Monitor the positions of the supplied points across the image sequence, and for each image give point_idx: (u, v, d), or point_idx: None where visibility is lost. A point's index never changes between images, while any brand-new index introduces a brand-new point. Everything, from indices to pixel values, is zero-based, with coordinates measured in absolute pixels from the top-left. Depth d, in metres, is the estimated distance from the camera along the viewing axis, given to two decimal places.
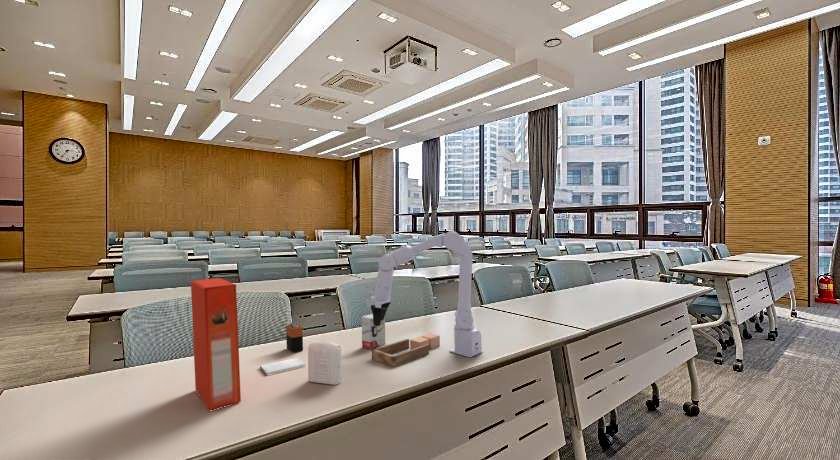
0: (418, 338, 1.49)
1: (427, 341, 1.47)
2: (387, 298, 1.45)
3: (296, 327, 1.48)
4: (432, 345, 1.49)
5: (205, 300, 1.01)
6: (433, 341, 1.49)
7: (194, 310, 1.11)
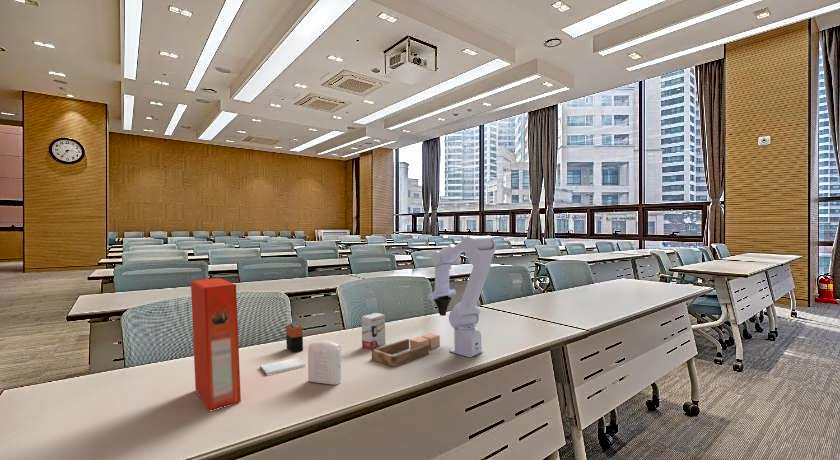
0: (418, 338, 1.49)
1: (427, 341, 1.47)
2: (443, 291, 1.54)
3: (296, 327, 1.48)
4: (433, 345, 1.49)
5: (205, 300, 1.01)
6: (433, 341, 1.49)
7: (194, 310, 1.11)
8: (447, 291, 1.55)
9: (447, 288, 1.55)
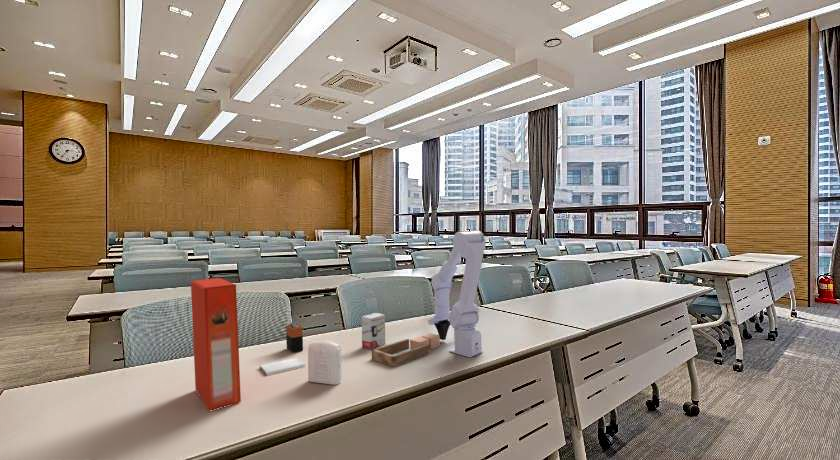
0: (418, 338, 1.49)
1: (427, 341, 1.47)
2: (443, 316, 1.54)
3: (296, 327, 1.48)
4: (433, 345, 1.49)
5: (205, 300, 1.01)
6: (433, 341, 1.49)
7: (194, 310, 1.11)
8: (447, 315, 1.55)
9: (447, 312, 1.55)
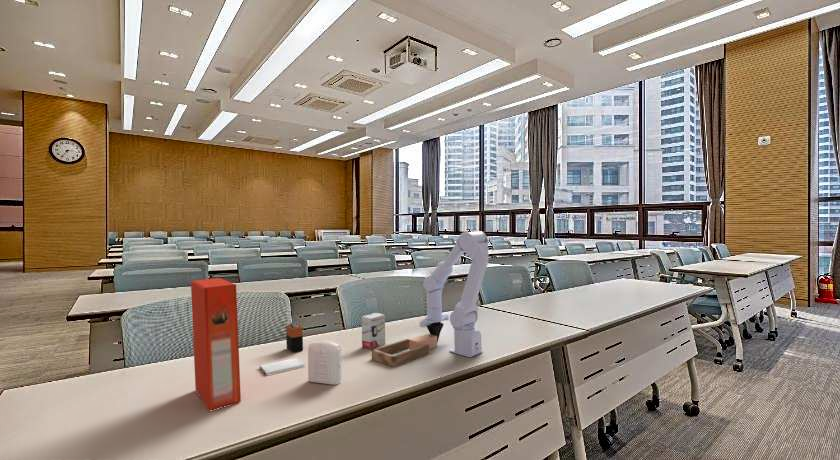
0: (417, 338, 1.49)
1: (426, 341, 1.47)
2: (435, 318, 1.51)
3: (296, 327, 1.48)
4: (430, 345, 1.48)
5: (205, 300, 1.01)
6: (430, 341, 1.48)
7: (194, 310, 1.12)
8: (439, 317, 1.52)
9: (439, 314, 1.52)
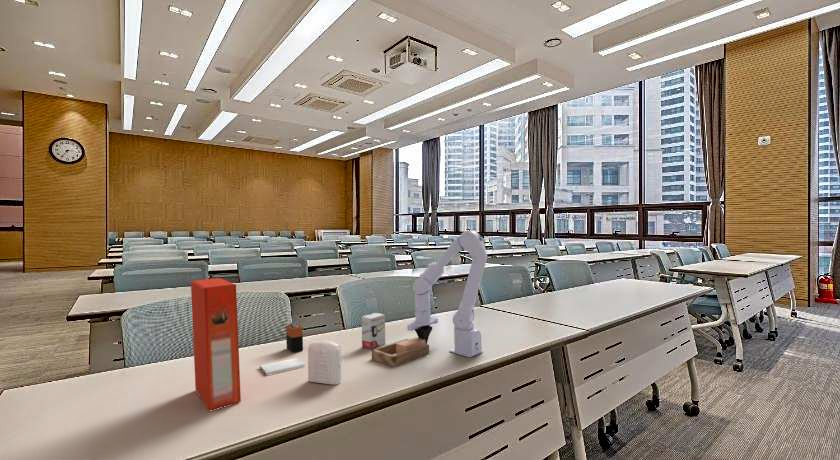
0: (405, 342, 1.44)
1: (414, 345, 1.42)
2: (424, 321, 1.46)
3: (296, 327, 1.48)
4: None
5: (205, 300, 1.01)
6: (418, 345, 1.44)
7: (194, 310, 1.11)
8: (428, 321, 1.47)
9: (428, 317, 1.47)
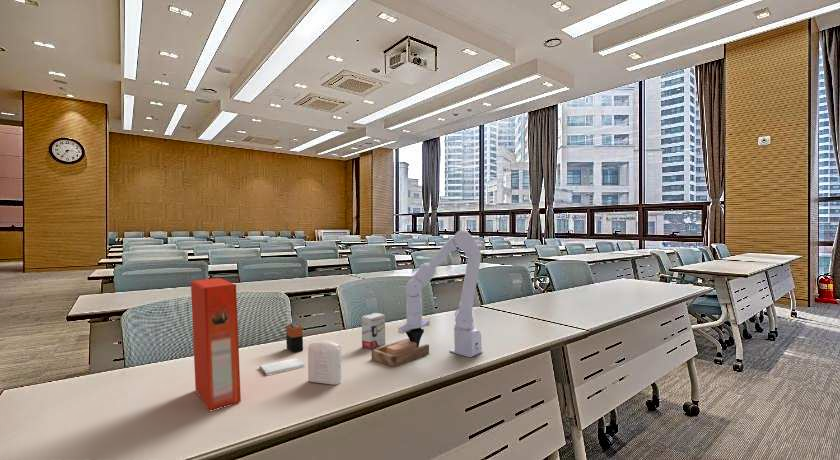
0: (395, 345, 1.41)
1: (404, 349, 1.39)
2: (415, 324, 1.43)
3: (296, 327, 1.48)
4: None
5: (205, 300, 1.01)
6: (409, 349, 1.40)
7: (194, 310, 1.11)
8: (419, 323, 1.44)
9: (419, 320, 1.44)
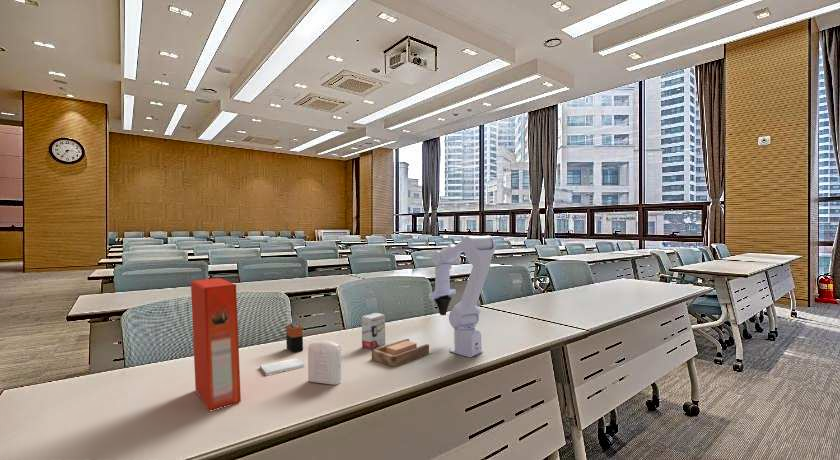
0: (395, 345, 1.41)
1: (404, 349, 1.39)
2: (444, 291, 1.54)
3: (296, 327, 1.48)
4: None
5: (205, 300, 1.01)
6: (409, 349, 1.40)
7: (194, 310, 1.11)
8: (447, 291, 1.55)
9: (447, 288, 1.55)
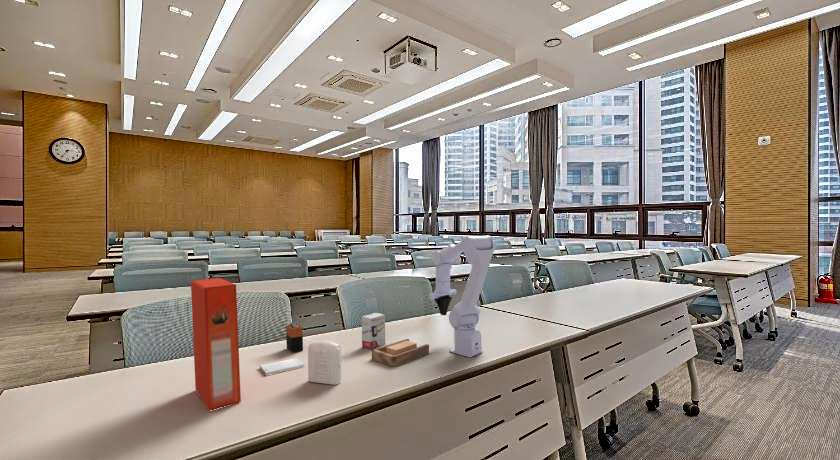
0: (395, 345, 1.41)
1: (404, 349, 1.39)
2: (444, 291, 1.55)
3: (296, 327, 1.48)
4: None
5: (205, 300, 1.01)
6: (409, 349, 1.40)
7: (194, 310, 1.11)
8: (448, 291, 1.55)
9: (448, 288, 1.55)
